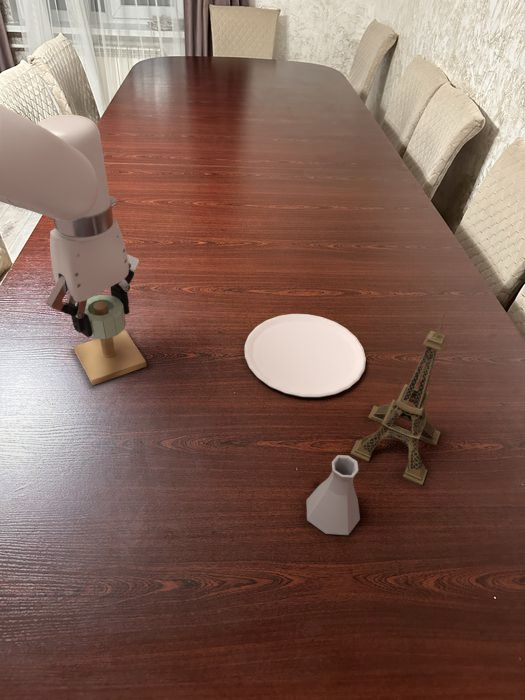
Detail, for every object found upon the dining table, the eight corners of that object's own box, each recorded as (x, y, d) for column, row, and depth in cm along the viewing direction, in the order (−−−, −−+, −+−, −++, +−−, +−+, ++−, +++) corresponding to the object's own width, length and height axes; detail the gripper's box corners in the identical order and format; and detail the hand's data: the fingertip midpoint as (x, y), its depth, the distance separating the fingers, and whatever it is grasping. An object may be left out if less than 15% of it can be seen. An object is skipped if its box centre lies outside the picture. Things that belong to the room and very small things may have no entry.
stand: (92, 385, 82) (80, 331, 74) (74, 351, 87) (61, 297, 80) (146, 366, 86) (139, 313, 78) (126, 334, 91) (118, 282, 84)
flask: (353, 545, 65) (369, 501, 58) (298, 524, 66) (307, 480, 60) (365, 497, 70) (381, 452, 63) (313, 479, 71) (323, 433, 65)
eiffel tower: (373, 406, 82) (413, 273, 65) (439, 433, 79) (500, 301, 62) (350, 454, 75) (388, 319, 58) (421, 485, 72) (484, 352, 55)
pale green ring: (91, 344, 78) (87, 325, 76) (77, 320, 82) (73, 302, 80) (131, 330, 81) (129, 312, 79) (116, 308, 85) (113, 290, 82)
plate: (381, 395, 84) (383, 390, 83) (253, 406, 81) (254, 401, 80) (345, 315, 99) (346, 309, 98) (236, 321, 96) (236, 316, 95)
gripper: (115, 187, 76) (129, 287, 88) (7, 231, 65) (40, 338, 77) (151, 204, 73) (161, 305, 85) (43, 253, 62) (72, 361, 74)
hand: (103, 320), depth 81 cm, fingers closed on pale green ring, 6 cm apart
